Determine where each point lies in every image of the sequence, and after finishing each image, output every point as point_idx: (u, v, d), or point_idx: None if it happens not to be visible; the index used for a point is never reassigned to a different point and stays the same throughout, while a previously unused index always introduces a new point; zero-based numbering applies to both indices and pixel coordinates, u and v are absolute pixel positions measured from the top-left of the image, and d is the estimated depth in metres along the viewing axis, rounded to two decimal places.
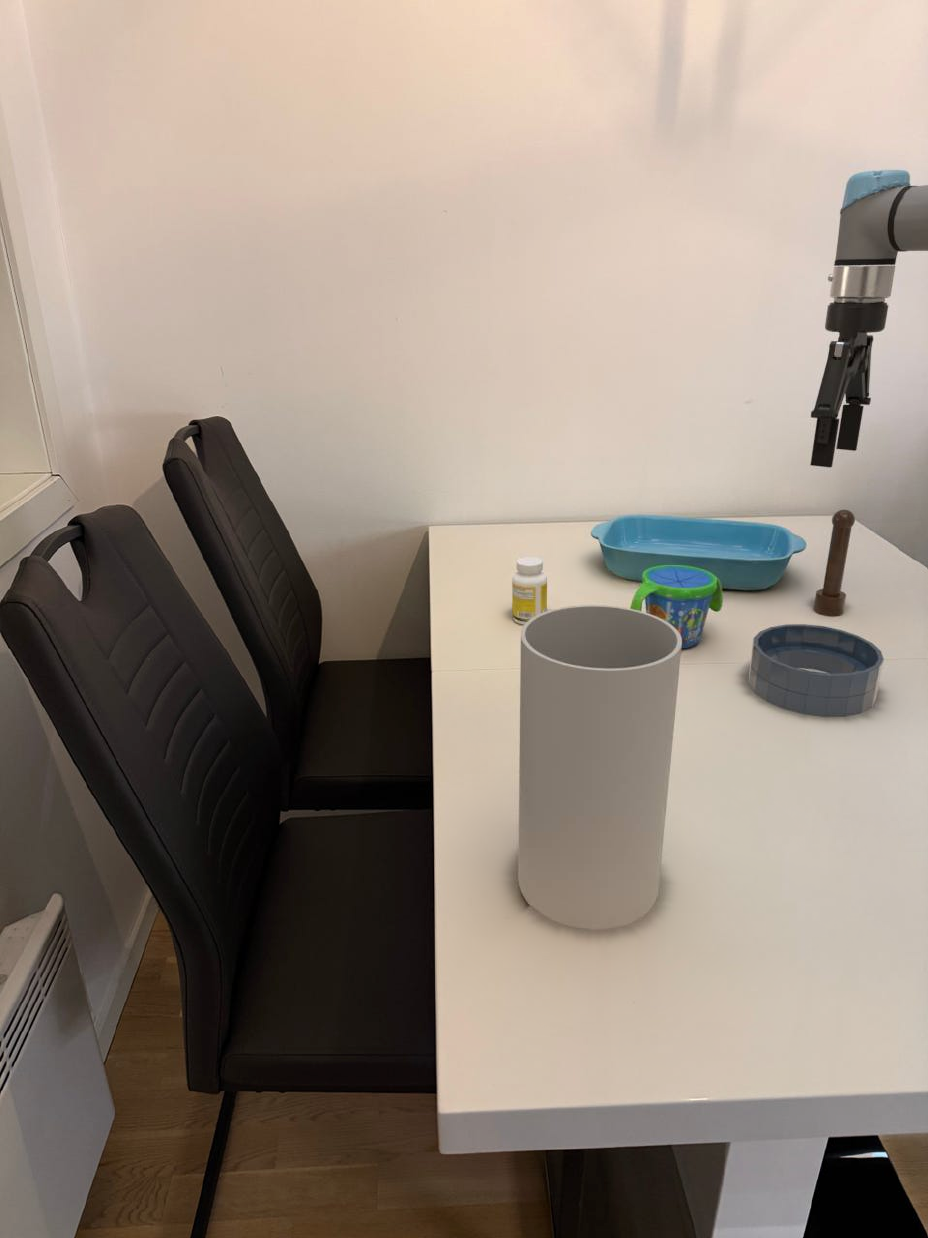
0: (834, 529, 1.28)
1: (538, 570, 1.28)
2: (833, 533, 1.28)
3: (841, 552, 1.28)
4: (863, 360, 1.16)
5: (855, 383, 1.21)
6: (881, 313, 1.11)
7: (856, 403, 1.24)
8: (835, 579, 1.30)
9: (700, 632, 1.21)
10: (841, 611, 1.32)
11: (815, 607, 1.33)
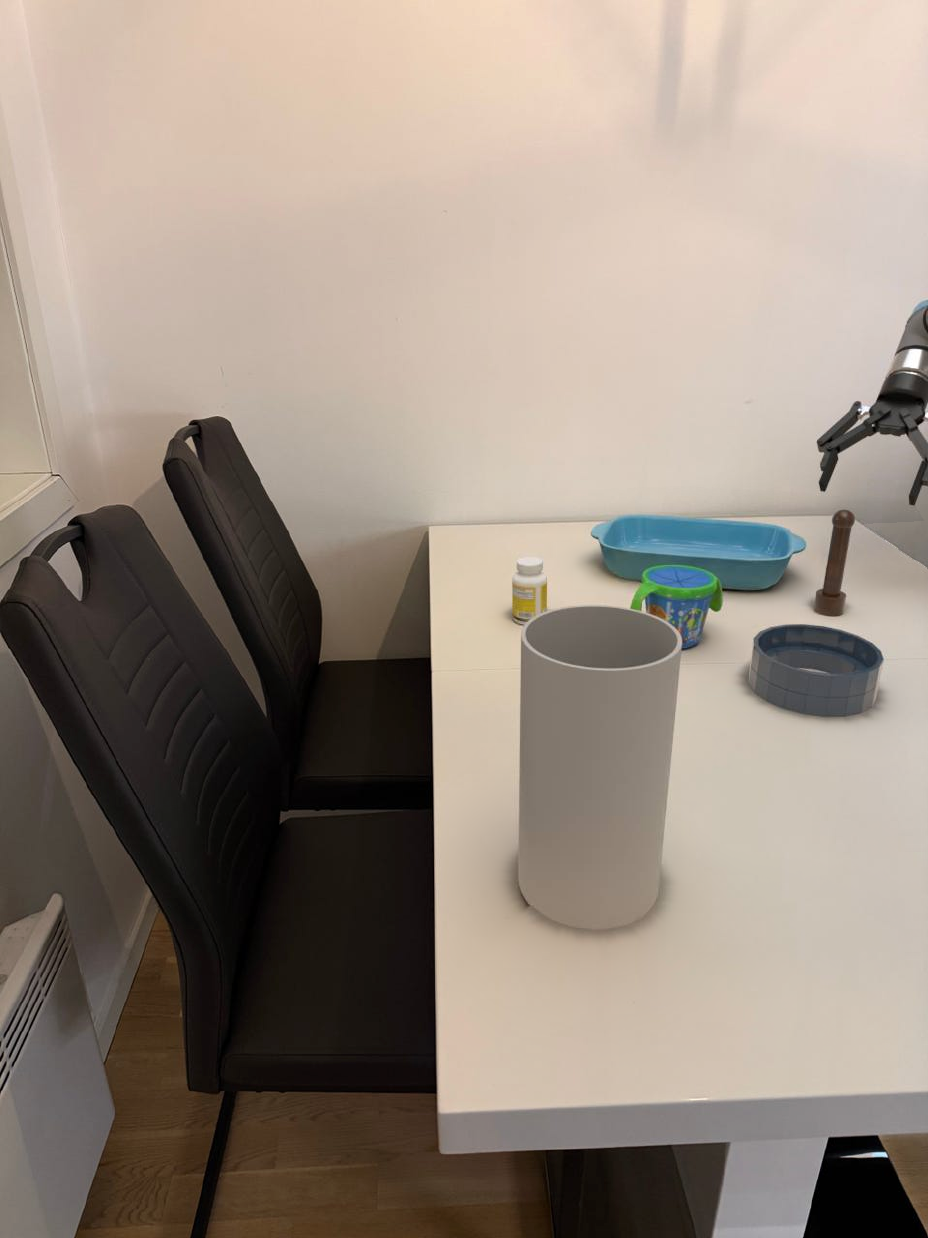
0: (834, 529, 1.28)
1: (538, 570, 1.28)
2: (833, 533, 1.28)
3: (841, 552, 1.28)
4: (903, 420, 1.35)
5: (916, 444, 1.33)
6: (893, 378, 1.36)
7: None
8: (835, 579, 1.30)
9: (700, 632, 1.21)
10: (841, 611, 1.32)
11: (815, 607, 1.33)
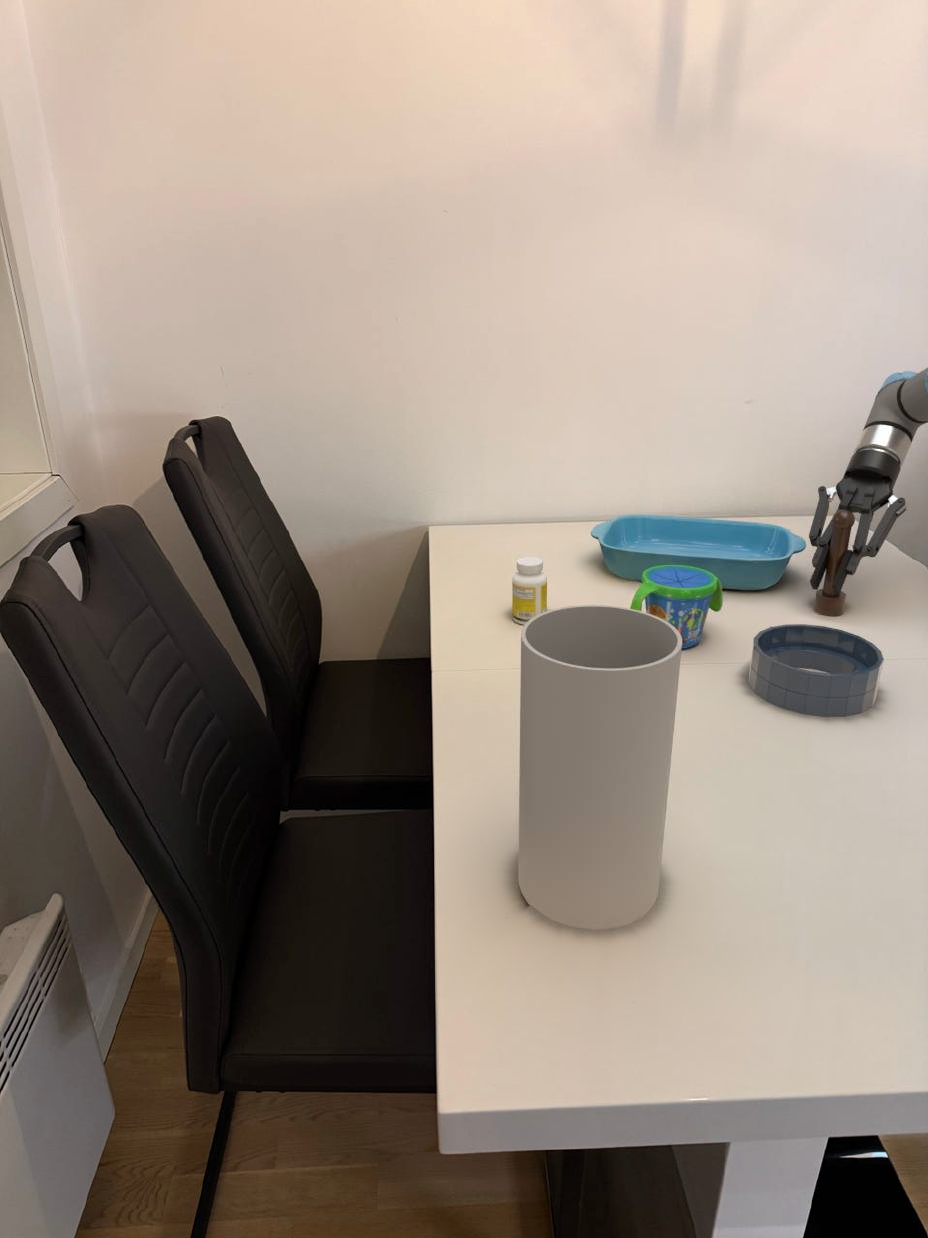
0: (834, 529, 1.28)
1: (538, 570, 1.28)
2: (833, 533, 1.28)
3: (841, 552, 1.28)
4: (869, 499, 1.30)
5: None
6: (860, 455, 1.32)
7: None
8: None
9: (700, 632, 1.21)
10: (841, 611, 1.32)
11: (815, 607, 1.33)
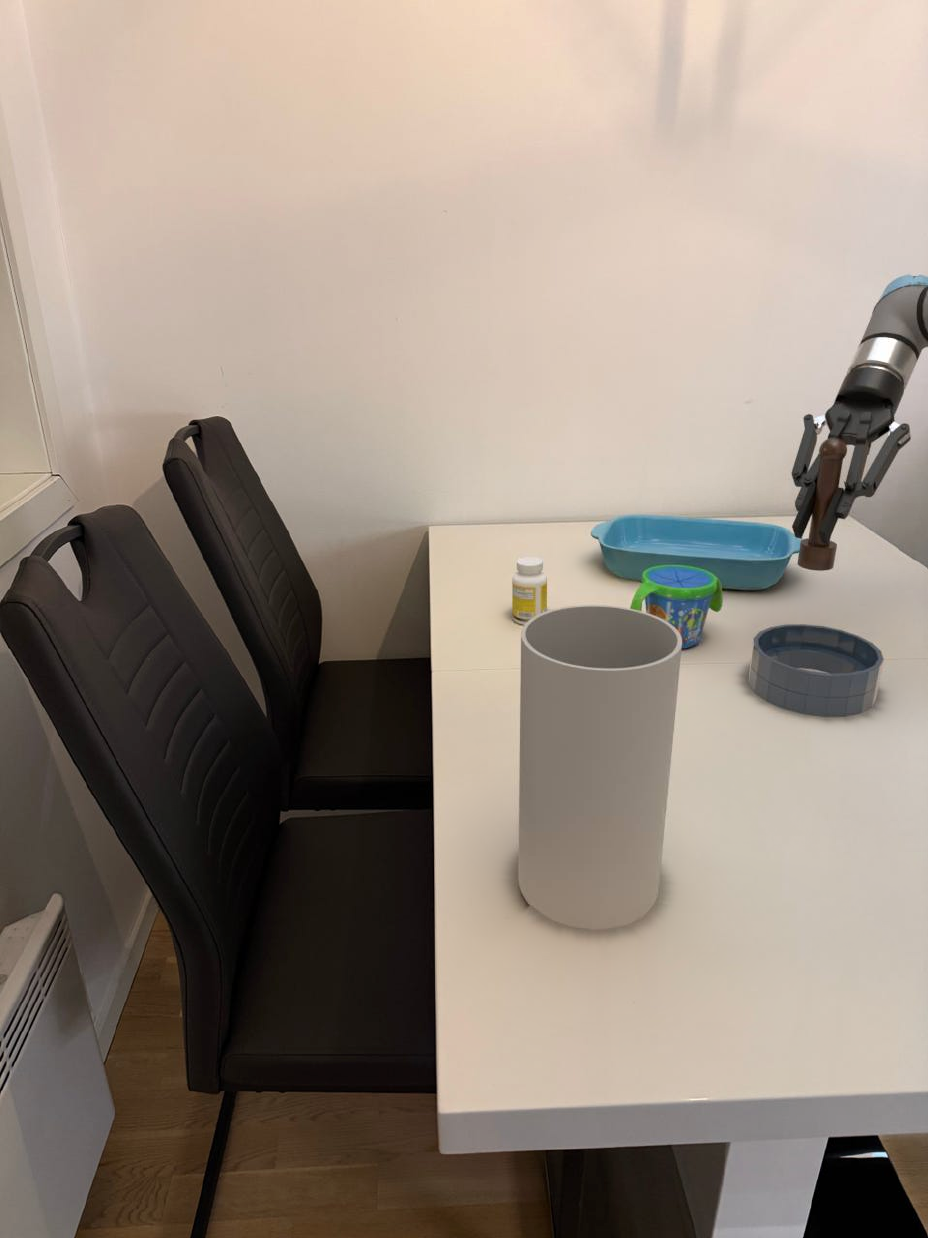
0: (822, 462, 1.04)
1: (538, 570, 1.28)
2: (820, 467, 1.04)
3: (830, 491, 1.04)
4: (866, 426, 1.06)
5: None
6: (855, 374, 1.08)
7: None
8: None
9: (700, 632, 1.21)
10: (831, 565, 1.08)
11: (799, 560, 1.09)
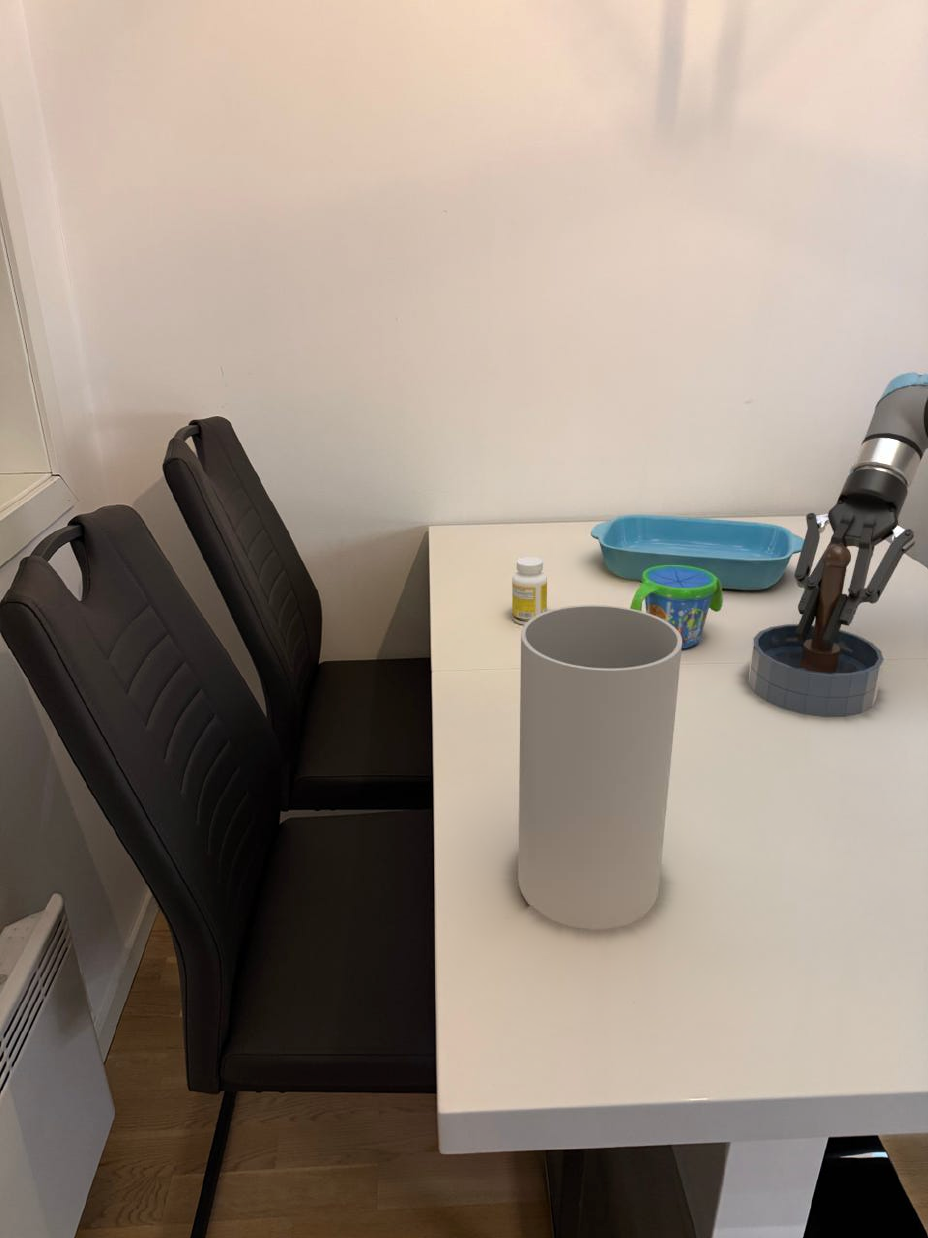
0: (825, 568, 1.03)
1: (538, 570, 1.28)
2: (824, 573, 1.03)
3: (833, 597, 1.03)
4: None
5: None
6: (858, 476, 1.07)
7: None
8: None
9: (700, 632, 1.21)
10: (834, 668, 1.07)
11: (802, 662, 1.08)
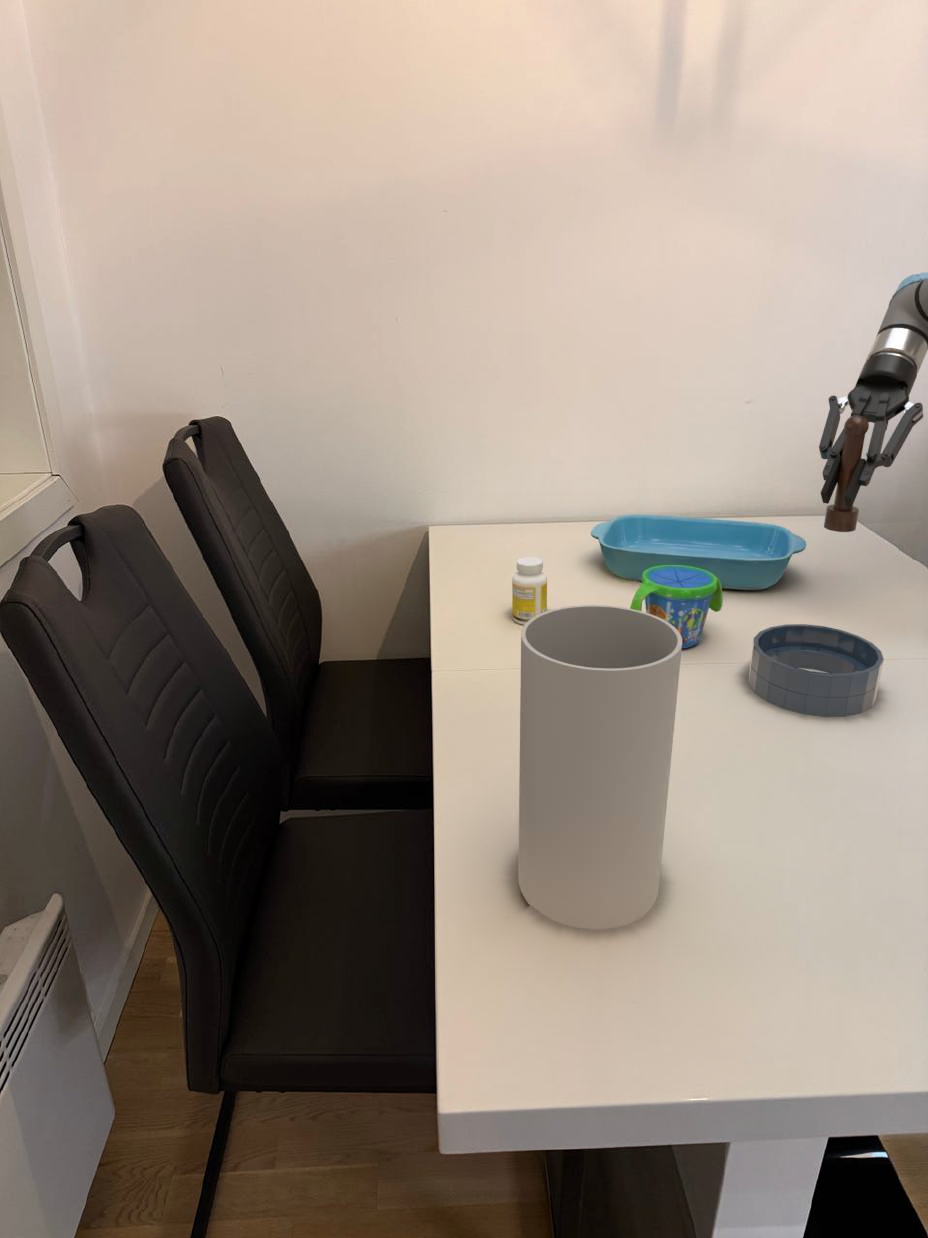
0: (846, 436, 1.19)
1: (538, 570, 1.28)
2: (845, 441, 1.20)
3: (853, 462, 1.20)
4: (884, 405, 1.22)
5: None
6: (874, 360, 1.23)
7: None
8: None
9: (700, 632, 1.21)
10: (853, 527, 1.23)
11: (826, 523, 1.25)
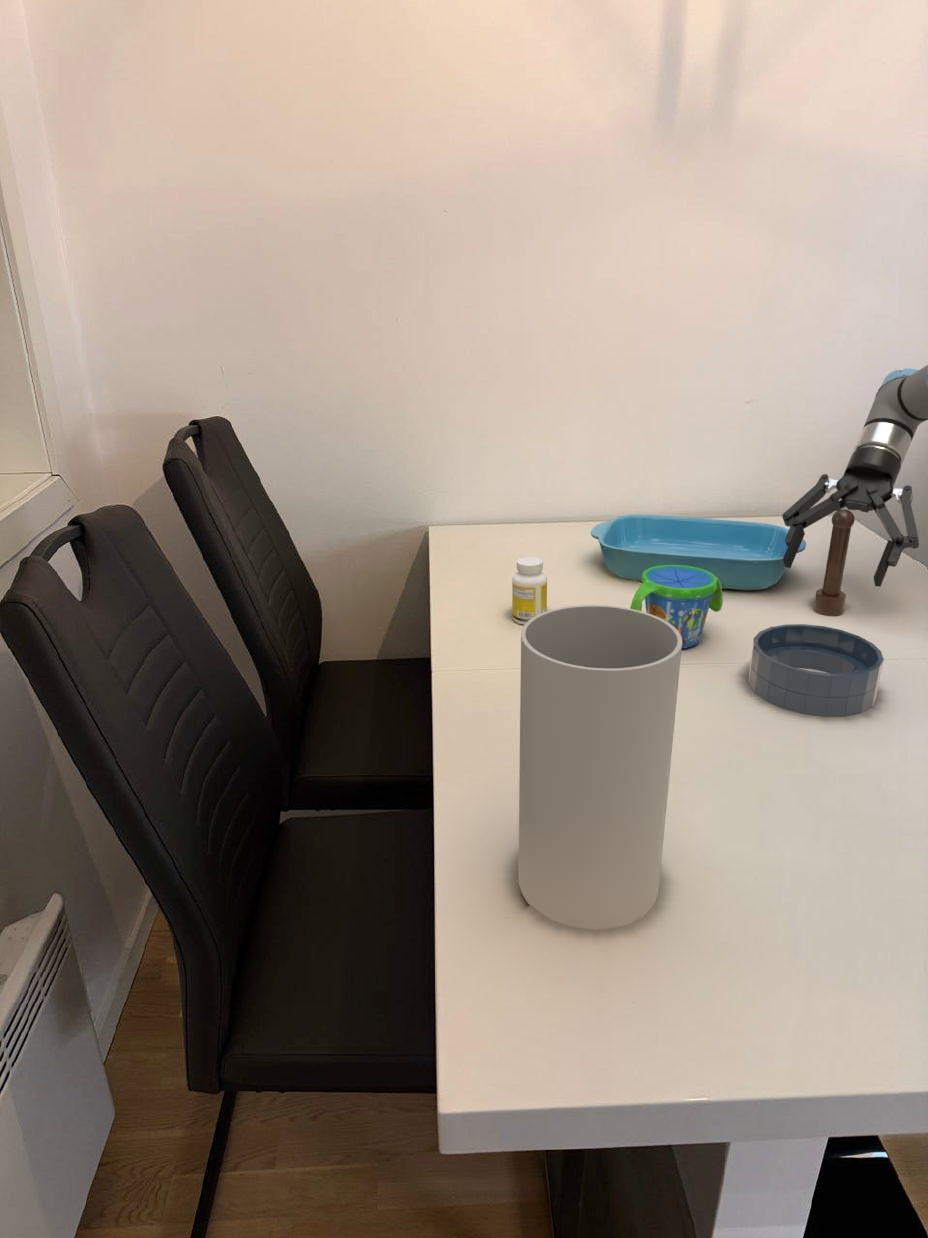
0: (834, 529, 1.28)
1: (538, 570, 1.28)
2: (833, 533, 1.28)
3: (840, 552, 1.28)
4: (870, 496, 1.30)
5: (883, 522, 1.28)
6: (861, 452, 1.32)
7: None
8: (835, 578, 1.30)
9: (700, 632, 1.21)
10: (841, 611, 1.32)
11: (815, 607, 1.33)
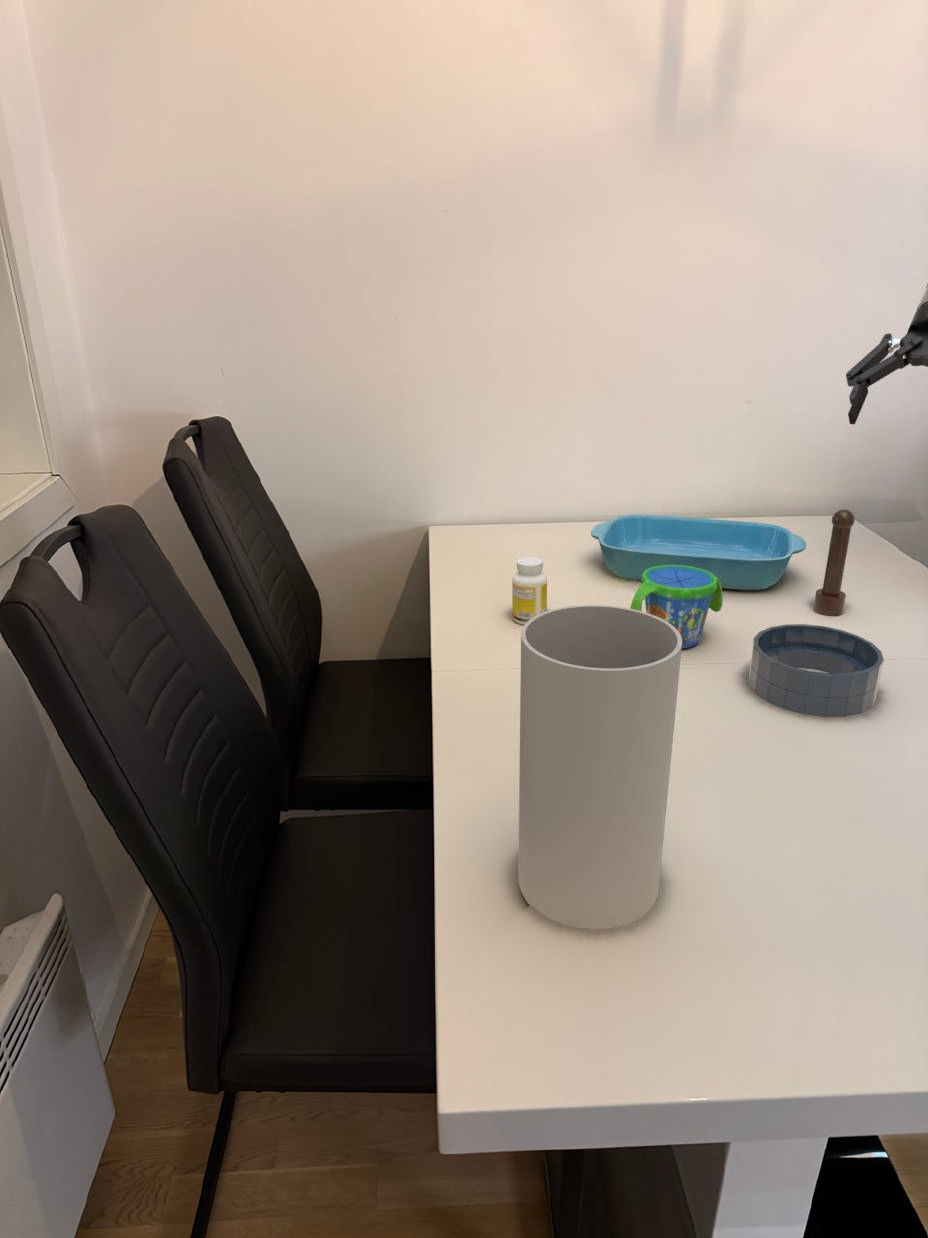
0: (834, 529, 1.28)
1: (538, 570, 1.28)
2: (833, 533, 1.28)
3: (840, 552, 1.28)
4: None
5: None
6: (925, 308, 1.34)
7: None
8: (835, 578, 1.30)
9: (700, 632, 1.21)
10: (841, 611, 1.32)
11: (815, 607, 1.33)
